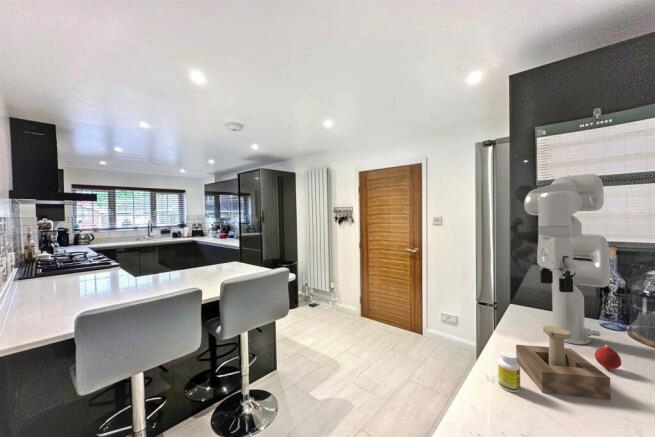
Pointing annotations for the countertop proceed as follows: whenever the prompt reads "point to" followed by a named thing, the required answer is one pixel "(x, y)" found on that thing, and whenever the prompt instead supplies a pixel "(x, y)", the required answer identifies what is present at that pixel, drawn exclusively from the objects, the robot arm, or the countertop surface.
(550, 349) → the handle
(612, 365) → the onion
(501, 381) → the supplement bottle
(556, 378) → the well block
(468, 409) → the countertop surface
